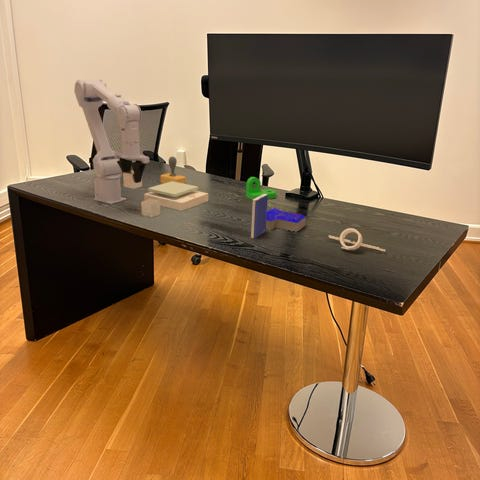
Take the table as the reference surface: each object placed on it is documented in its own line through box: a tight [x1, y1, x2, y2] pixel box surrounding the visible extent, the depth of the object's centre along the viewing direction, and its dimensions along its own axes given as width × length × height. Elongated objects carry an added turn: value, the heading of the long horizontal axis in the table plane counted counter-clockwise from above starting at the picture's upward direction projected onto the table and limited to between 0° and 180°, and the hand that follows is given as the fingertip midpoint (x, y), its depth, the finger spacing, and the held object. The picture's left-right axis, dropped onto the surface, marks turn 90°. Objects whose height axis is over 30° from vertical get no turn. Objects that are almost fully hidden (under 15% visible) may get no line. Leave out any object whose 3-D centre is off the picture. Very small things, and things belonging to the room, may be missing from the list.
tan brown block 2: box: [141, 199, 161, 218], centre depth 161 cm, size 4×4×5 cm
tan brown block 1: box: [122, 169, 143, 190], centre depth 162 cm, size 4×4×5 cm
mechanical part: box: [245, 176, 277, 201], centre depth 187 cm, size 12×6×8 cm, turn 121°
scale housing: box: [143, 190, 209, 212], centre depth 177 cm, size 18×16×4 cm
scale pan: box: [147, 181, 199, 197], centre depth 177 cm, size 13×14×1 cm
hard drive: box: [250, 194, 269, 239], centre depth 145 cm, size 2×8×12 cm, turn 152°
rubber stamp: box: [160, 156, 187, 184], centre depth 200 cm, size 10×6×12 cm, turn 53°
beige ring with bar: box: [328, 227, 386, 253], centre depth 138 cm, size 18×10×6 cm
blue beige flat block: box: [266, 207, 307, 233], centre depth 155 cm, size 11×15×5 cm
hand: (132, 181), depth 163 cm, fingers closed on tan brown block 1, 4 cm apart
